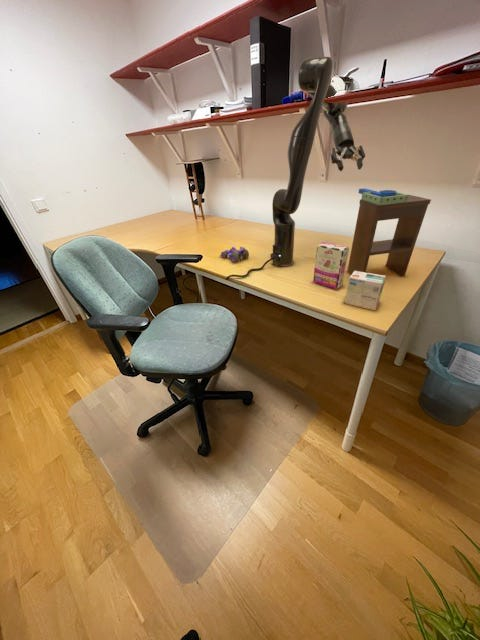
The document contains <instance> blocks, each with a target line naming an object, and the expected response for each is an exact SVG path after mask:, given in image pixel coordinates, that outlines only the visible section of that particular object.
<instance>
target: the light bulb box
mask: <svg viewBox="0 0 480 640" xmlns="http://www.w3.org/2000/svg"><path fill="white" fill-rule="evenodd" d="M386 277H387V276H386V275H383V274H377V273H371V272H366V273H365V272H359V271H354V272H353V273H352V275H351V274H350V276H349V278H348V283H347V289H346V293H345V299H344V304H347V305H351V306H356V307H359V308H363V309H368V310H371V311H376V309H377V307H378V305H379V304H380V300H381V297H382V293H383V289H384V286H385V281H386Z"/></svg>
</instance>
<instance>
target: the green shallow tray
mask: <svg viewBox="0 0 480 640" xmlns="http://www.w3.org/2000/svg"><path fill="white" fill-rule="evenodd" d="M384 190H385V189H384ZM384 190H382V189H381V190H379V192H381V191H384ZM408 195H409V194H408ZM408 195H407V194H406V193H403V192H398V191H397V192H396V196H389V197H380V196H376V195H372V194H371V192H363V193H362V194H361V199H362V200H365V201H368V202H371V203H375V204H378V205H386V204H395V203H404V202H407V198H408Z"/></svg>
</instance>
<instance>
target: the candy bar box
mask: <svg viewBox="0 0 480 640" xmlns="http://www.w3.org/2000/svg"><path fill="white" fill-rule="evenodd" d="M349 251H350V247H349V246H346V245H341V244H335V243H331V242H326V241H323V242H321V243H319V244H317V245H316V252H315V261H314V273H313V282H312V283H315V284H317V285H321V286H323V287H327V288H330V289H334V290H339V288H341V287H342V286H343V285H344V280H345V279H344V278H345V272H346V267H347V261H348V256H349Z"/></svg>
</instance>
